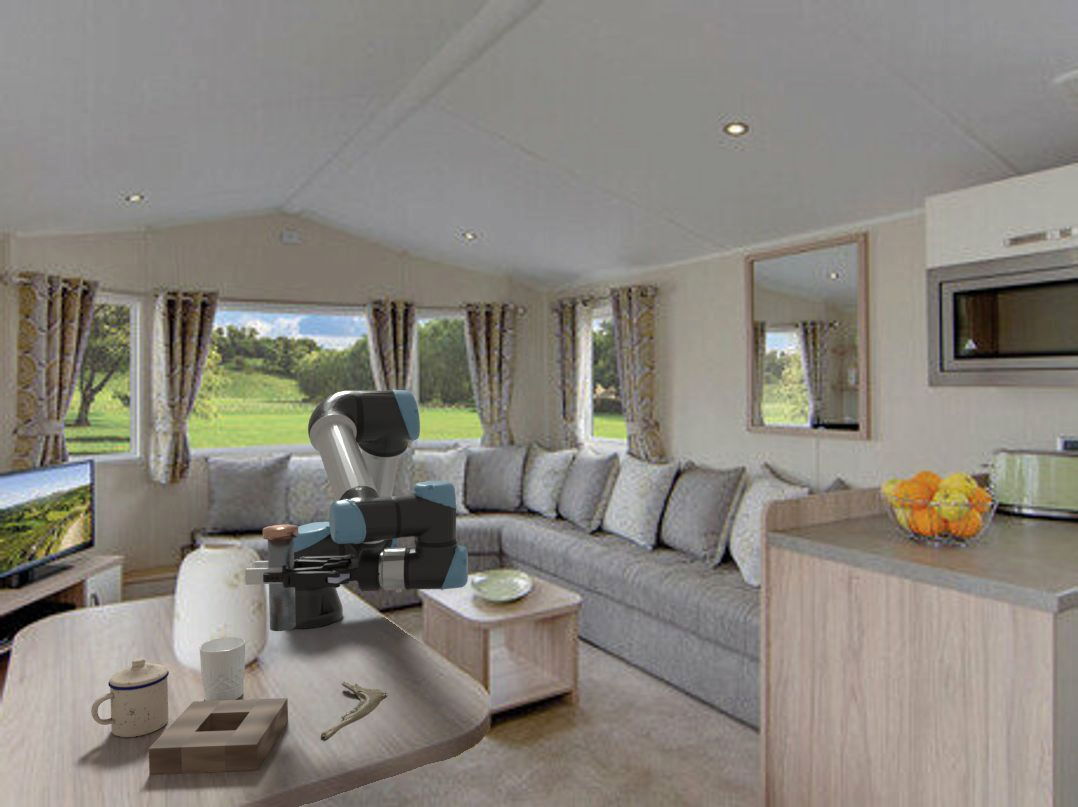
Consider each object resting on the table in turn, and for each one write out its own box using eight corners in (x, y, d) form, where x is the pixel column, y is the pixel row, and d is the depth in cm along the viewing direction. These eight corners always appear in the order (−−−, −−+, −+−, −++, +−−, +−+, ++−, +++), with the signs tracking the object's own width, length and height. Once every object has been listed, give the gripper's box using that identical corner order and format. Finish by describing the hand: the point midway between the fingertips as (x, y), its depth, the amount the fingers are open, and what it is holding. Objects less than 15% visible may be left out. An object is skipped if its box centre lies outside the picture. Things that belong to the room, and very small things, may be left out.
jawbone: (389, 691, 140) (389, 680, 140) (375, 745, 120) (375, 733, 120) (341, 690, 139) (342, 679, 139) (319, 744, 119) (320, 732, 119)
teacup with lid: (155, 709, 131) (153, 645, 130) (179, 723, 125) (177, 657, 125) (81, 735, 121) (79, 667, 121) (104, 752, 116) (102, 680, 115)
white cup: (236, 684, 142) (235, 633, 141) (253, 696, 136) (252, 643, 136) (194, 696, 136) (193, 644, 136) (210, 709, 130) (208, 655, 130)
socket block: (194, 724, 125) (193, 701, 125) (288, 720, 126) (287, 698, 126) (149, 774, 109) (148, 748, 109) (257, 770, 110) (256, 744, 110)
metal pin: (271, 621, 133) (268, 524, 132) (304, 620, 133) (302, 524, 133) (260, 633, 127) (257, 531, 126) (295, 632, 127) (292, 530, 127)
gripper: (374, 604, 122) (233, 608, 121) (390, 576, 140) (266, 579, 138) (373, 560, 122) (232, 564, 121) (389, 538, 139) (266, 541, 138)
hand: (251, 572), depth 129 cm, fingers closed on metal pin, 4 cm apart
